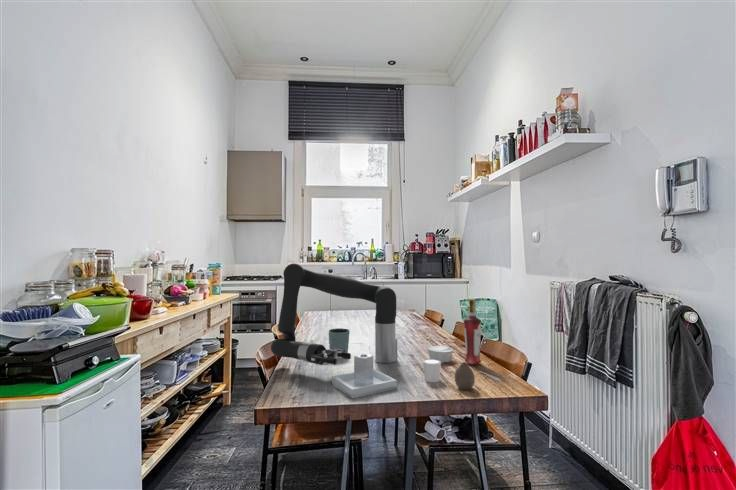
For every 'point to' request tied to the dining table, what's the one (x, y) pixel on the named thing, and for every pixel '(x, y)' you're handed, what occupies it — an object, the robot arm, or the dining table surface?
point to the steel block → (363, 369)
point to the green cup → (339, 339)
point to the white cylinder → (432, 370)
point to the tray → (379, 385)
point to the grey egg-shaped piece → (464, 377)
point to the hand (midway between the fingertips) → (343, 358)
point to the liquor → (472, 336)
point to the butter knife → (491, 376)
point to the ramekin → (440, 353)
